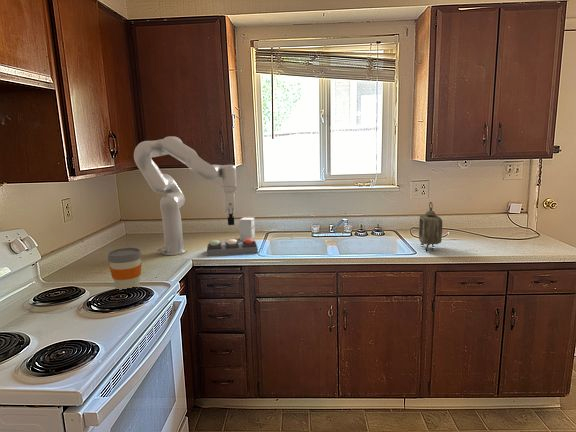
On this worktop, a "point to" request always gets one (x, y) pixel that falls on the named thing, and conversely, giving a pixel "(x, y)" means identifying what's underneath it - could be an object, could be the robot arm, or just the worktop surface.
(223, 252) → the button panel
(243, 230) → the supplement box
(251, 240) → the red button
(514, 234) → the worktop surface
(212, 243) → the sage button
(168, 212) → the robot arm
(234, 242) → the ivory button
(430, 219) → the dark metal lantern
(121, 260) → the reusable coffee cup
